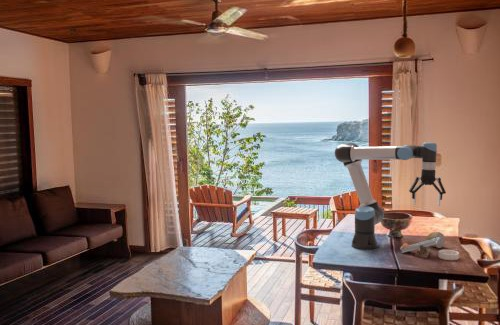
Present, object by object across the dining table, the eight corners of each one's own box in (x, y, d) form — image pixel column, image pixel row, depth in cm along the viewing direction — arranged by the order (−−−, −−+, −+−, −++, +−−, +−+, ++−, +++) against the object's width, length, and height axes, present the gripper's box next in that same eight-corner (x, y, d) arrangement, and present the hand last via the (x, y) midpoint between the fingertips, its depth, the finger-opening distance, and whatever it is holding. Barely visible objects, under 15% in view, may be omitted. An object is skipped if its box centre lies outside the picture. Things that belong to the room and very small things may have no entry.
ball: (402, 250, 265) (401, 244, 265) (403, 248, 268) (402, 242, 268) (408, 250, 263) (407, 244, 263) (409, 248, 266) (408, 242, 266)
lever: (401, 253, 263) (399, 249, 263) (406, 247, 276) (404, 242, 276) (436, 244, 253) (434, 239, 253) (440, 238, 266) (438, 233, 267)
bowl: (437, 258, 253) (437, 253, 253) (439, 253, 262) (440, 248, 261) (457, 261, 248) (457, 255, 247) (459, 256, 257) (459, 250, 256)
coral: (439, 239, 267) (426, 229, 275) (434, 252, 272) (422, 242, 280) (450, 235, 271) (438, 226, 279) (445, 249, 276) (433, 239, 284)
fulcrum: (415, 256, 258) (415, 245, 257) (419, 250, 268) (419, 240, 267) (426, 257, 255) (427, 246, 254) (430, 252, 265) (430, 241, 264)
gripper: (407, 169, 266) (406, 205, 268) (452, 170, 263) (450, 206, 266) (405, 167, 274) (403, 202, 276) (448, 168, 271) (446, 204, 273)
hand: (426, 204), depth 271 cm, fingers open, 13 cm apart
